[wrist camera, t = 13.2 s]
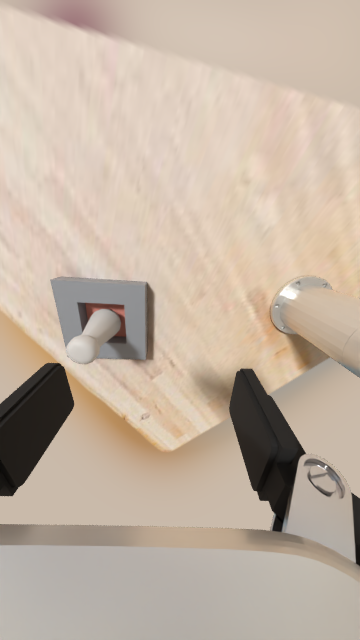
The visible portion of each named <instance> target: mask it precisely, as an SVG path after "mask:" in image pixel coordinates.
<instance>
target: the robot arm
mask: <svg viewBox="0 0 360 640" xmlns="http://www.w3.org/2000/svg"><path fill="white" fill-rule="evenodd" d="M270 317H271V320H272V322H273V324H274V325H275V326H276V327H277V328H278V329H279V330H281V331H282V332H285V333H288V334H299V335H300V336H302V337H303V338H305V339H306V340H307V341H309V342H310V343H312V344H313V345H314V346H316V347H317V348H318V349H320V350H321V351H323V352H324V353H325V354H327V355H328V356H330V357H331V358H332V359H334V360H335V361H337V362H338V363H339V364H341V365H342V366H344V367H345V368H347V369H348V370H349V371H351V372H352V373H354V374H355V375H357V376H358V377H360V298H357V297H354V296H351V295H347V294H344V293H340V292H337V291H333V290H332V287H331V285H330V284H329V283H328V282H327V281H326V280H324V279H322V278H320V277H316V276H302V277H299V278H296V279H294V280H292V281H290V282H288V283H287V284H286V285H284V286H283V287H282V288H281V289H280V290H279V291H278V293H277V294H276V295H275V297H274V299H273V301H272V304H271V308H270ZM73 407H74V400H73V397H72V393H71V390H70V386H69V383H68V379H67V376H66V372H65V369H64V367H63V366H62V365H61V364H59V363H47V364H45V365H44V366H43V367H41V368H40V369H39V370H38V371H37V372H36V373H35V374H34V375H32V376H31V377H30V378H29V379H28V380H27V381H26V382H25V383H23V384H22V385H21V386H20V387H19V388H18V389H17V390H16V391H14V392H13V393H12V394H11V395H10V396H9V397H8V398H6V399H5V400H4V401H3V402H2V403H1V404H0V496H13V495H14V493H15V492H16V490H17V489H18V487H20V486H21V485H23V484H24V483H25V481H26V480H27V478H28V476H29V475H30V474H31V472H32V471H33V469H34V467H35V466H36V465H37V463H38V461H39V460H40V458H41V457H42V455H43V454H44V452H45V451H46V449H47V448H48V446H49V445H50V443H51V441H52V440H53V438H54V437H55V435H56V434H57V432H58V431H59V429H60V428H61V426H62V425H63V423H64V422H65V420H66V418H67V417H68V416H69V414H70V412H71V411H72V409H73ZM229 410H230V415H231V418H232V422H233V425H234V429H235V432H236V435H237V438H238V442H239V445H240V449H241V452H242V456H243V459H244V462H245V465H246V469H247V472H248V476H249V479H250V482H251V486H252V488H253V490H254V491H257V492H258V496H259V499H260V500H261V501H269V503H270V506H271V509H272V511H273V512H274V515H273V519H272V524H271V528H270V531H266V530H252V529H232V528H203V527H157V526H98V525H97V526H96V525H95V526H94V525H14V524H13V525H12V524H10V525H9V524H0V640H360V498H358V497H357V496H355V495H354V494H353V493H351V490H350V487H349V485H348V483H347V481H346V479H345V478H344V477H343V476H342V474H341V473H340V472H339V471H338V470H337V469H336V468H335V467H334V466H333V465H332V464H331V463H329V462H328V461H326V460H325V459H323V458H321V457H319V456H317V455H313V454H306V453H305V451H304V450H303V448H302V446H301V445H300V443H299V441H298V440H297V438H296V436H295V435H294V433H293V431H292V430H291V428H290V426H289V425H288V423H287V421H286V420H285V418H284V416H283V415H282V413H281V411H280V410H279V408H278V407H277V405H276V403H275V401H274V400H273V398H272V397H271V396H269V395H267V393H266V392H265V390H264V388H263V386H262V385H261V383H260V381H259V380H258V378H257V376H256V374H255V373H254V371H253V370H252V369H240V371H237V373H236V377H235V382H234V387H233V392H232V397H231V401H230V407H229Z"/></svg>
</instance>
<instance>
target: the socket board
mask: <svg viewBox="0 0 360 640" xmlns="http://www.w3.org/2000/svg"><path fill="white" fill-rule="evenodd" d="M51 285H52V289H53V294H54V298H55V302H56V307H57V311H58V316H59V320H60V325H61V329H62V333H63V338H64V342H65V347H67V345H68V343H69V342H70V341H71V340H72V339H73V338H74V337H76V336H79V335H81V334H82V333H83V331H84V329H85V327H86V325H87V323H88V321H89V319H90V317H91V316H92V314H93V313H94V312H95V311H98V310H100V309H112V310H113V311H114V312H116V313H117V314H118V315H119V318H120V321H121V326H120V330H119V331H118V332H117V333H116V334H115V335H114V336H113V337H112V338H110V339H109V340H108V341H107V342H105V343H104V344H103V345H102V346H100V352H99V355H98V356H97V357H96V358H108V359H140V360H146V356H147V282H137V281H121V280H105V279H89V278H73V277H58V278H55V279H52V280H51Z"/></svg>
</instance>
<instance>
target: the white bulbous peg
mask: <svg viewBox="0 0 360 640" xmlns="http://www.w3.org/2000/svg"><path fill="white" fill-rule="evenodd" d="M120 326H121V321H120V318H119V315H118V314H117V313H116V312H114V311H113V310H112V309H100V310H98V311H95V312H94V313H93V314H92V316H91V317H90V319H89V321H88V323H87V325H86V327H85V329H84V331H83V333H82V334H81V335H79V336H76V337H74V338H73V339H72V340H71V341H70V342H69V343H68V345H67V347H66V353H67V355H68V357H69V358H70V359H71V360H72V361H74V362H76V363H79V364H88V363H91V362H93V361H94V360H95V359H96V357H97V356H98V355H99V352H100V346H102V345H103V344H104V343H105V342H107V341H108V340H109V339H110V338H112V337H113V336H114V335H115V334H116V333H117V332H118V331H119V330H120Z"/></svg>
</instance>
